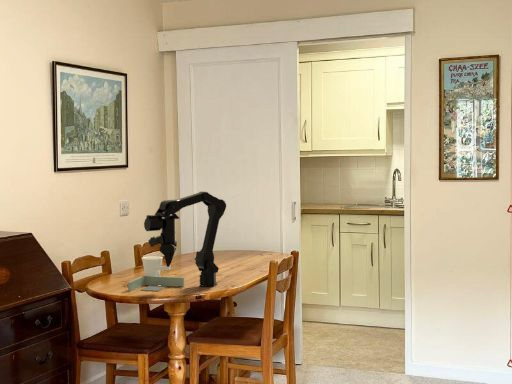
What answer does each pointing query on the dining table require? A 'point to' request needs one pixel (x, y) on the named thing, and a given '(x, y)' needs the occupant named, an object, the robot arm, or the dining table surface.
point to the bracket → (163, 267)
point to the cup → (152, 265)
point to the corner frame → (155, 281)
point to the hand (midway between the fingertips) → (168, 265)
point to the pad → (153, 288)
